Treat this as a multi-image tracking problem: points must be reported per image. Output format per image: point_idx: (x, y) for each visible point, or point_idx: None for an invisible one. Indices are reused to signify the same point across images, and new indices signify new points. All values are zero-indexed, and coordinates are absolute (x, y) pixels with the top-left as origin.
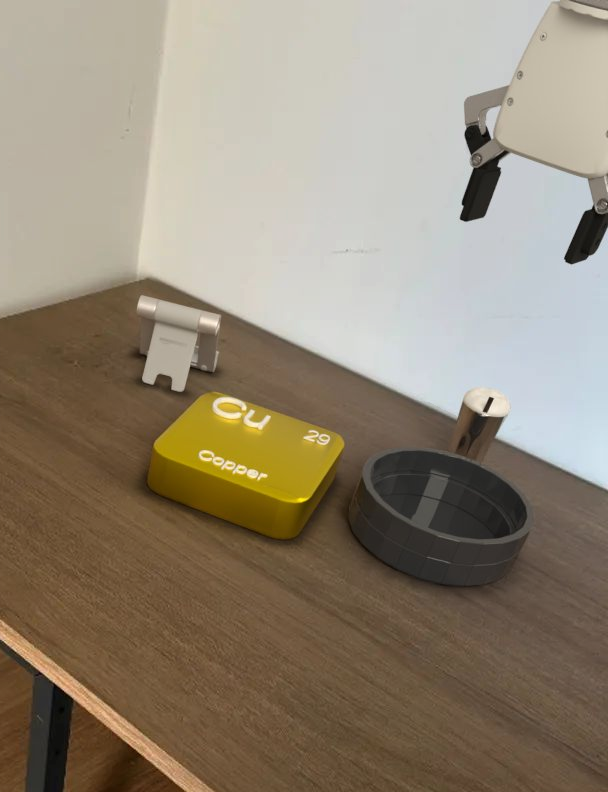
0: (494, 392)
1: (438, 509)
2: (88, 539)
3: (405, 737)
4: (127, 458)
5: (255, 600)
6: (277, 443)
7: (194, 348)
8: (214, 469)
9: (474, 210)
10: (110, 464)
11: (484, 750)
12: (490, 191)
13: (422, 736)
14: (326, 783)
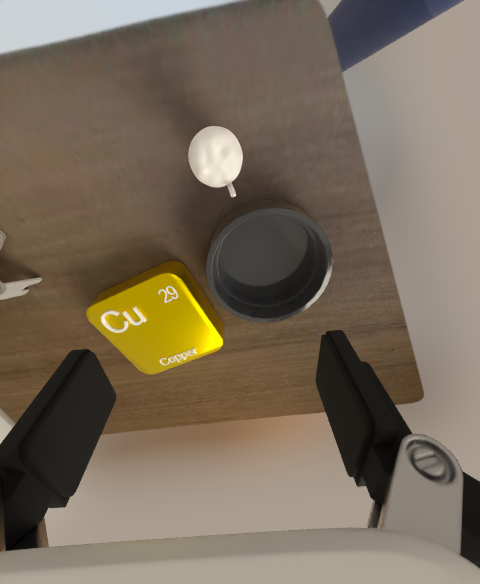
0: (214, 149)
1: (250, 228)
2: (181, 389)
3: None
4: None
5: (248, 363)
6: (165, 321)
7: (6, 283)
8: (177, 364)
9: (104, 404)
10: None
11: (363, 350)
12: (67, 410)
13: None
14: None
